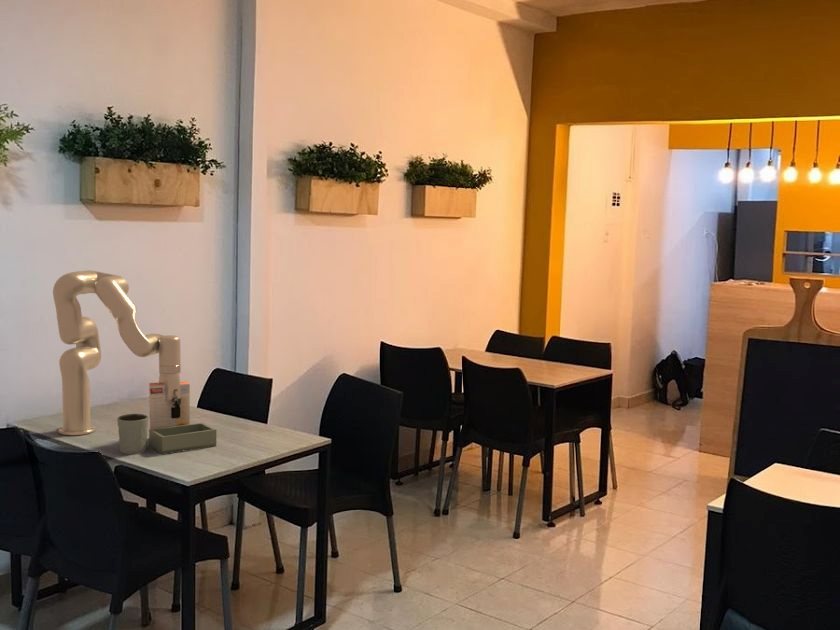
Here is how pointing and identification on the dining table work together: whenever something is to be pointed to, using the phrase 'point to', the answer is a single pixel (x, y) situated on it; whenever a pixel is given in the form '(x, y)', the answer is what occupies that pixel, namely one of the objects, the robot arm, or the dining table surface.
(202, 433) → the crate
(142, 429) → the grey-green cup
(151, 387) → the cracker box
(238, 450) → the dining table surface
